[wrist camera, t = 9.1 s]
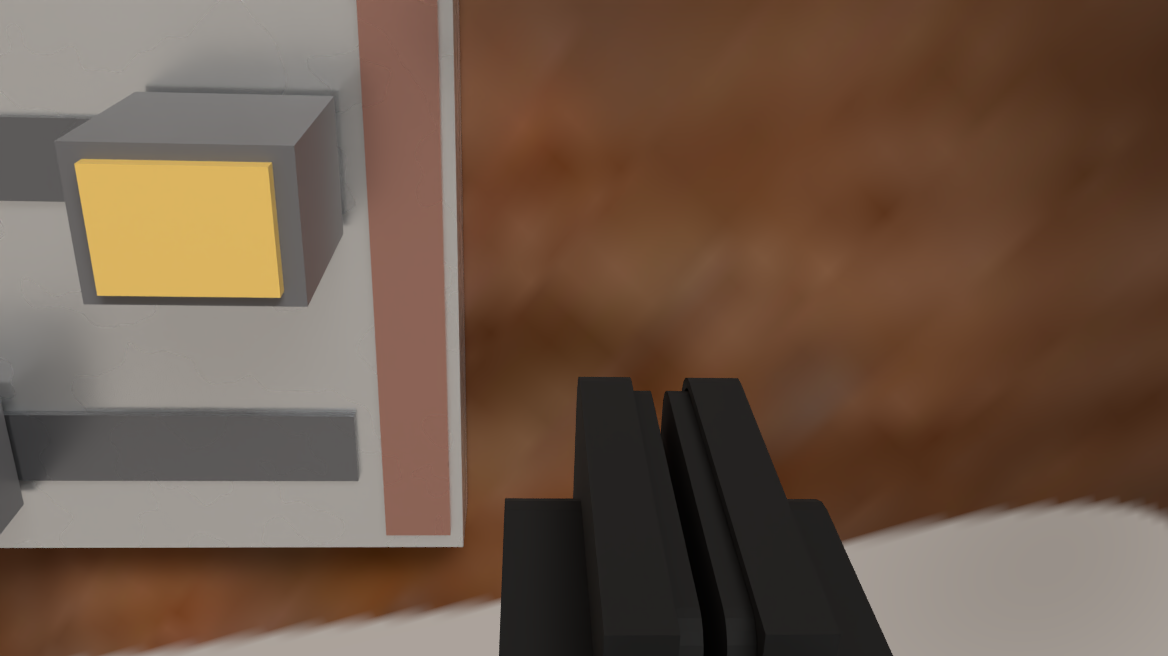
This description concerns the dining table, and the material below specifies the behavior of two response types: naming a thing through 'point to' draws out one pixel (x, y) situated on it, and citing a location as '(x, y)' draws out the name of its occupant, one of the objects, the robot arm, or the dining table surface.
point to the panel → (241, 333)
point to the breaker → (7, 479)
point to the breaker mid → (203, 199)
